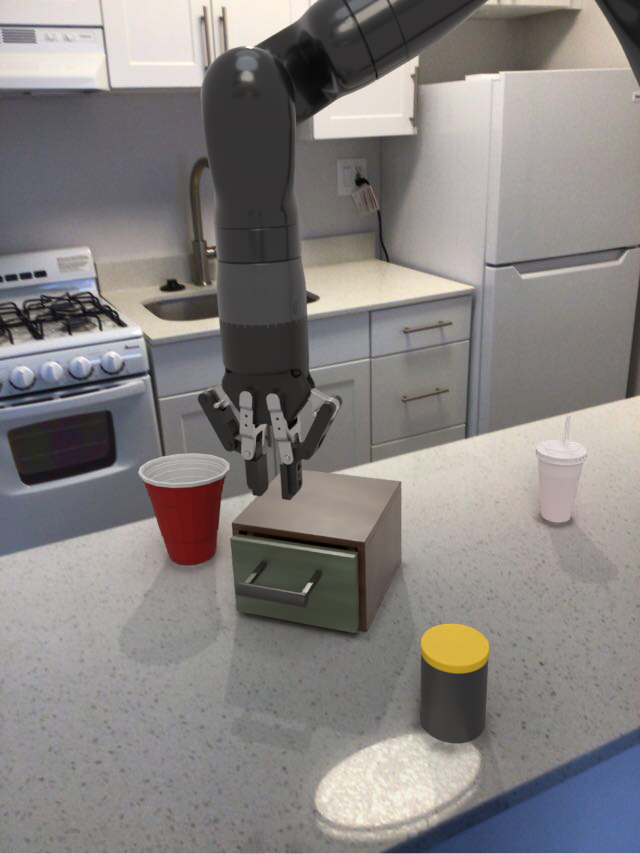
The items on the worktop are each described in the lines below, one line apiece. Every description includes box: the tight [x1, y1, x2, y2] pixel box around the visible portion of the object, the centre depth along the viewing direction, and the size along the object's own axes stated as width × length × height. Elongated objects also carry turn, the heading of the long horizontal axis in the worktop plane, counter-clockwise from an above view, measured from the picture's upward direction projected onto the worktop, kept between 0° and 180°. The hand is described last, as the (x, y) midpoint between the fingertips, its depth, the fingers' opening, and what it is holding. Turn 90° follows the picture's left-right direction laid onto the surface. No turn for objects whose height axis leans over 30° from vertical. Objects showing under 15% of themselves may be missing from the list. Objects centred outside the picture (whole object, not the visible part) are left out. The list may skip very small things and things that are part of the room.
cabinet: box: [231, 469, 402, 633], centre depth 85 cm, size 15×15×11 cm
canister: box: [419, 622, 491, 744], centre depth 65 cm, size 6×6×8 cm
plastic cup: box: [137, 452, 230, 566], centre depth 92 cm, size 11×11×12 cm
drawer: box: [229, 532, 359, 634], centre depth 81 cm, size 19×13×9 cm
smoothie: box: [534, 415, 588, 524], centre depth 97 cm, size 6×6×14 cm
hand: (274, 493), depth 70 cm, fingers closed
